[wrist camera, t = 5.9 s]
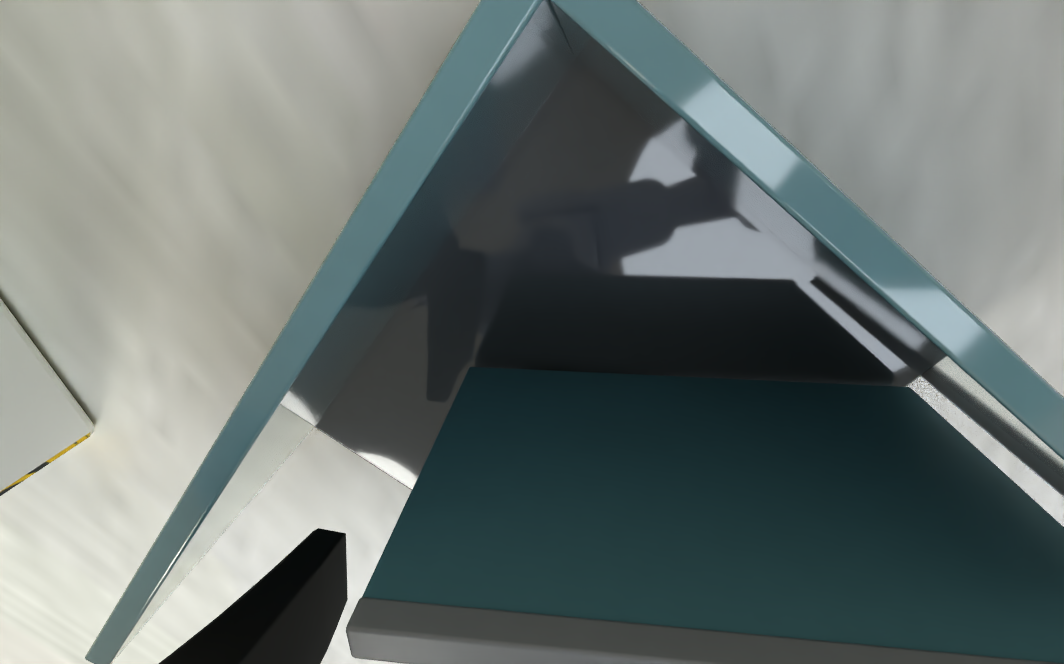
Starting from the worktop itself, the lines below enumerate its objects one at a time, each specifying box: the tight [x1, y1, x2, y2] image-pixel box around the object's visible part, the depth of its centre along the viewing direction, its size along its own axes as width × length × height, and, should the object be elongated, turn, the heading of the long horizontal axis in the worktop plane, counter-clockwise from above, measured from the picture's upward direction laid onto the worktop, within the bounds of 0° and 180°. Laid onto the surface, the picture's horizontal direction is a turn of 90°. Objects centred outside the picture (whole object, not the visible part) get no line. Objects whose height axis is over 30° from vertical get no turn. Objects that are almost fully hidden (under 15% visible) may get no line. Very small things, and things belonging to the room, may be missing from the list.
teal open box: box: [85, 0, 1064, 664], centre depth 11 cm, size 12×12×8 cm
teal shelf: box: [346, 367, 1064, 664], centre depth 10 cm, size 5×10×7 cm, turn 90°
